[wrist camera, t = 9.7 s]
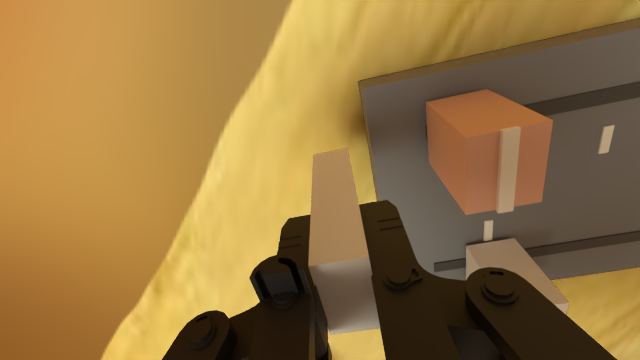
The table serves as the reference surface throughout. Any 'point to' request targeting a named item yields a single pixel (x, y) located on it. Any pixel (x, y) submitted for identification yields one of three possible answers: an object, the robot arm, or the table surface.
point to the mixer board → (563, 158)
